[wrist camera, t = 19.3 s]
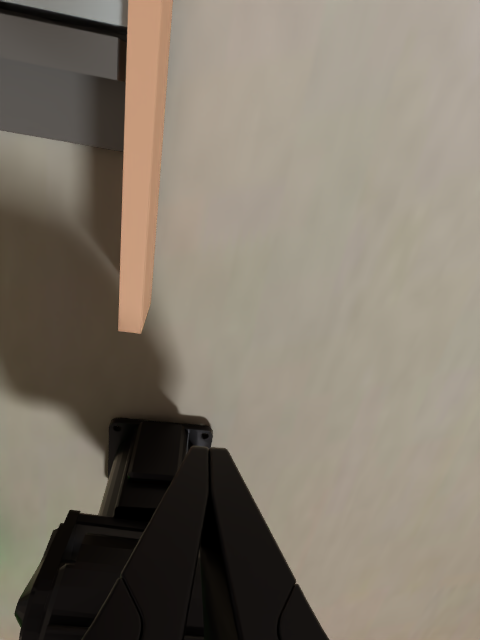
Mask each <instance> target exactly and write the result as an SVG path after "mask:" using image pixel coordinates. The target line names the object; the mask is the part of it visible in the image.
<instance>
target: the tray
mask: <svg viewBox="0 0 480 640" xmlns="http://www.w3.org/2000/svg"><path fill="white" fill-rule="evenodd" d="M172 4H173V0H0V8H2V9H7V10H12V11H16V12H21V13H26V14H31V15H35V16H40V17H45V18H50V19H54V20H59V21H64V22H69V23H74V24H78V25H83V26H88V27H93V28H97V29H102V30H107V31H112V32H116V33H121V34H126V35H127V61H126V93H125V126H124V159H123V191H122V224H121V256H120V289H119V321H118V331H122V332H131V333H139V334H141V332H142V329H143V326H144V323H145V320H146V317H147V314H148V311H149V307H150V304H151V293H152V279H153V265H154V252H155V238H156V224H157V210H158V197H159V183H160V169H161V155H162V142H163V128H164V114H165V100H166V87H167V73H168V59H169V45H170V32H171V18H172Z"/></svg>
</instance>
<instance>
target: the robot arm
mask: <svg viewBox="0 0 480 640" xmlns="http://www.w3.org/2000/svg"><path fill="white" fill-rule="evenodd" d="M117 425H118V426H120V427H117ZM203 433H206V434H205V435H204V434H203ZM212 437H213V430H212V429H211V428H210V427H208V426H201V425H190V424H179V423H168V422H157V421H146V420H135V419H124V418H115V419H113V420H112V421H111V424H110V427H109V460H108V483H107V486H106V490H105V493H104V497H103V500H102V504H101V507H100V511H99V514H98V515H92V514H84V513H80V511H76V510H69V513H68V515H67V517H66V520H65V522H64V523H61V524H60V526H59V528H58V529H55V530H53V532H52V535H51V538H50V540H49V543H48V545H47V548H46V551H45V553H44V556H43V558H42V560H41V562H40V564H39V566H38V568H37V570H36V571H35V573H34V575H33V576H32V578H31V580H30V582H29V583H28V585H27V587H26V588H25V590H24V592H23V593H22V595H21V597H20V599H19V601H18V603H17V606H16V610H15V617H16V619H17V621H18V623H19V625H20V627H21V631H20V636H19V640H329V638H328V637H327V635H326V633H325V632H324V630H323V629H322V627H321V625H320V623H319V621H318V620H317V618H316V616H315V614H314V612H313V611H312V609H311V607H310V605H309V604H308V602H307V600H306V598H305V596H304V594H303V592H302V590H301V588H300V586H299V585H298V584H295V583H296V579H295V577H294V575H293V573H292V572H291V570H290V568H289V566H288V564H287V562H286V560H285V558H284V556H283V554H282V552H281V551H280V549H279V547H278V545H277V543H276V541H275V539H274V537H273V535H272V533H271V532H270V530H269V528H268V526H267V524H266V522H265V520H264V518H263V516H262V514H261V513H260V511H259V509H258V507H257V505H256V503H255V501H254V499H253V497H252V495H251V493H250V492H249V490H248V488H247V486H246V484H245V482H244V480H243V478H242V476H241V474H240V473H239V471H238V469H237V467H236V465H235V463H234V461H233V459H232V457H231V455H230V453H229V452H228V450H227V449H226V448H216V447H211V443H212Z"/></svg>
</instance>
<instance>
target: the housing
mask: <svg viewBox="0 0 480 640" xmlns="http://www.w3.org/2000/svg"><path fill="white" fill-rule="evenodd" d="M126 61H127V35H126V34H121V33H116V32H112V31H107V30H102V29H97V28H93V27H88V26H83V25H78V24H74V23H69V22H64V21H59V20H54V19H50V18H45V17H40V16H35V15H31V14H26V13H21V12H16V11H12V10H7V9H2V8H0V130H1V131H7V132H13V133H18V134H24V135H30V136H36V137H41V138H47V139H53V140H59V141H65V142H70V143H76V144H82V145H88V146H93V147H99V148H105V149H111V150H116V151H122V152H124V126H125V93H126Z"/></svg>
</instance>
